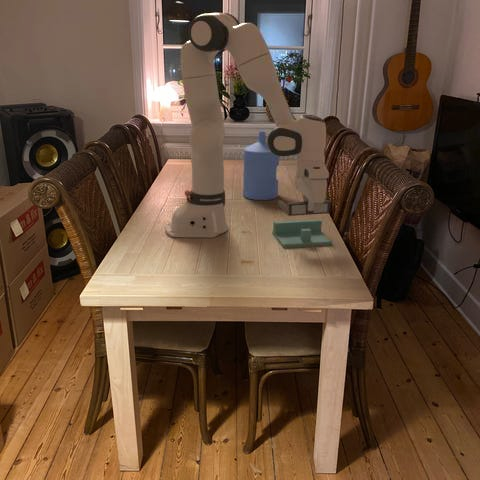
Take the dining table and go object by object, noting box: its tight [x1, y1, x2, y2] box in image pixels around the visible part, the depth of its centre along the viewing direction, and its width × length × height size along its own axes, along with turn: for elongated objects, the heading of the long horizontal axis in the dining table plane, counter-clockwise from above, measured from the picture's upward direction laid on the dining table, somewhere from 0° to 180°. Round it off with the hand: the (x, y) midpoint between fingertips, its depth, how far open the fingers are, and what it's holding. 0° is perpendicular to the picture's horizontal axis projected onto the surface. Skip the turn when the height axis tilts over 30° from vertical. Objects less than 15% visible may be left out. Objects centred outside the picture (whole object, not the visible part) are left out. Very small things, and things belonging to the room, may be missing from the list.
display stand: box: [271, 218, 333, 249], centre depth 174 cm, size 17×14×5 cm
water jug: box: [242, 131, 281, 201], centre depth 220 cm, size 16×16×28 cm
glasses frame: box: [277, 199, 331, 217], centre depth 172 cm, size 14×13×4 cm
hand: (308, 208), depth 167 cm, fingers closed on glasses frame, 2 cm apart
